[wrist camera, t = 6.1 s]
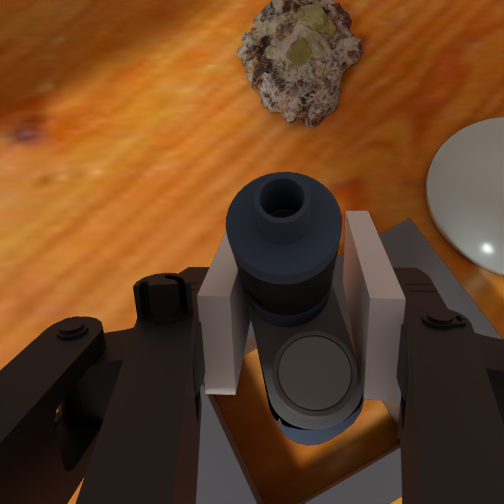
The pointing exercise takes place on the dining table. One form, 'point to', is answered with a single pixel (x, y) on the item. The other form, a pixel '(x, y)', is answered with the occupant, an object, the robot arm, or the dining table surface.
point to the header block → (400, 255)
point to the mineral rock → (300, 57)
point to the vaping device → (296, 303)
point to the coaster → (471, 193)
